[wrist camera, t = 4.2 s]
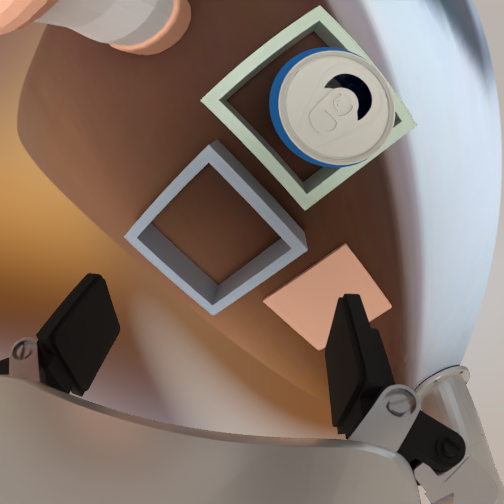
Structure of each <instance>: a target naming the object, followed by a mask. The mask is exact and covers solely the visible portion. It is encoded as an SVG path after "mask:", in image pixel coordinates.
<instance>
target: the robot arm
mask: <svg viewBox="0 0 504 504" xmlns="http://www.w3.org/2000/svg"><path fill="white" fill-rule="evenodd" d="M119 332H120V325H119V322H118V319H117V317H116V313H115V311H114V307H113V304H112V301H111V298H110V295H109V291H108V288H107V285H106V281H105V280H104V279H103V278H102V276H101V275H99V274H91V273H89V274H87V275H86V276H85V277H84V278H83V279H82V280H81V281H80V283H79V284H78V285H77V286H76V287H75V288H74V289H73V291H72V292H71V293H70V294H69V295H68V296H67V298H66V299H65V300H64V301H63V302H62V304H61V305H60V306H59V307H58V308H57V309H56V311H55V312H54V313H53V314H52V316H51V317H50V318H49V319H48V321H47V322H46V323H45V324H44V326H43V327H42V328H41V329H40V331H39V332H38V333H37V335H36V336H37V338H38V341H37V342H36V341H35V340H34V339H32V338H28V337H27V338H22V339H20V340H18V341H17V342H16V343H15V344H14V345H13V346H12V348H11V350H10V354H9V358H6V359H4V360H1V361H0V504H421V500H420V495H419V490H418V486H417V485H421V486H422V487H423V488H424V490H425V491H426V493H425V495H426V496H427V497H428V499H429V500H430V503H431V504H504V486H503V484H502V481H501V479H500V477H499V475H498V472H497V470H496V467H495V464H494V461H493V458H492V455H491V452H490V449H489V446H488V443H487V440H486V436H485V434H484V430H483V428H482V425H481V422H480V419H479V417H478V414H477V411H476V408H475V406H474V403H473V401H472V398H471V396H470V393H469V391H468V388H467V386H466V384H467V382H468V381H469V378H470V373H469V370H468V369H467V368H466V367H464V366H455V367H451V368H448V369H445V370H443V371H441V372H439V373H437V374H435V375H433V376H431V377H430V378H428V379H427V380H426V381H424V382H423V383H422V384H421V385H420V386H419V387H417V389H416V390H415V391H414V390H413V389H411V388H410V387H407V386H405V385H399V384H397V385H395V382H394V378H393V375H392V372H391V368H390V365H389V362H388V358H387V355H386V352H385V349H384V346H383V343H382V340H381V337H380V334H379V331H378V330H377V329H376V328H371V327H370V324H369V321H368V317H367V314H366V311H365V308H364V305H363V302H362V300H361V297H360V295H359V294H344V295H343V297H339V298H338V301H337V305H336V309H335V313H334V317H333V321H332V325H331V329H330V332H329V336H328V340H327V343H326V347H325V358H326V366H327V375H328V384H329V393H330V403H331V414H332V424H333V427H337V429H338V434H345V435H346V439H347V440H341V439H314V438H280V437H263V436H251V435H239V434H231V433H222V432H215V431H208V430H202V429H195V428H189V427H184V426H179V425H174V424H169V423H164V422H159V421H155V420H151V419H147V418H143V417H139V416H135V415H131V414H128V413H124V412H121V411H117V410H114V409H110V408H107V407H104V406H101V405H98V404H95V403H92V402H89V401H86V400H83V399H81V398H78V397H75V396H72V395H70V394H69V393H70V391H71V392H72V393H73V394H76V395H79V396H83V394H84V392H85V391H87V390H88V389H89V387H90V385H91V383H92V382H93V380H94V378H95V376H96V374H97V372H98V370H99V368H100V367H101V365H102V363H103V361H104V359H105V357H106V355H107V354H108V352H109V350H110V348H111V347H112V345H113V343H114V341H115V340H116V338H117V336H118V334H119ZM420 409H422V411H421V410H420Z"/></svg>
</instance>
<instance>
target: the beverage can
mask: <svg viewBox="0 0 504 504" xmlns="http://www.w3.org/2000/svg"><path fill="white" fill-rule="evenodd" d="M269 109H270V116H271V119H272V123H273V125H274V128H275V130H276V132H277V134H278V135H279V137H280V139H281V140H282V141H283V142H284V144H285V145H286V146H287V147H288V148H289V149H290V150H291V151H292V152H293V153H295V154H296V155H297V156H299V157H300V158H302V159H304V160H306V161H308V162H310V163H312V164H316V165H319V166H323V167H331V168H341V167H348V166H352V165H356V164H359V163H361V162H363V161H365V160H367V159H368V158H370V157H371V156H372V155H374V154H375V153H376V152H378V151H379V150H380V149H381V148H382V146H383V145H384V144H385V143H386V141H387V140H388V138H389V136H390V134H391V132H392V129H393V126H394V121H395V102H394V97H393V94H392V91H391V88H390V86H389V84H388V82H387V81H386V79H385V78H384V76H383V75H382V74H381V73H380V71H379V70H378V69H377V68H376V67H374V66H373V65H372V64H371V63H370V62H368V61H367V60H366V59H364V58H363V57H361V56H359V55H357V54H355V53H353V52H350V51H348V50H344V49H340V48H334V47H320V48H313V49H310V50H307V51H304V52H302V53H300V54H298V55H296V56H294V57H293V58H291V59H290V60H289V61H288V62H287V63H286V64H285V65H284V66H283V67H282V68H281V69H280V71H279V72H278V74H277V75H276V77H275V79H274V82H273V84H272V87H271V91H270V98H269Z"/></svg>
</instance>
